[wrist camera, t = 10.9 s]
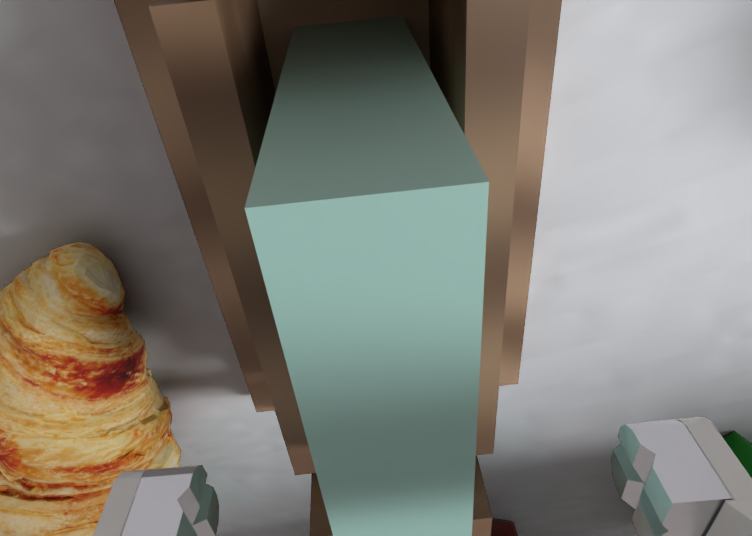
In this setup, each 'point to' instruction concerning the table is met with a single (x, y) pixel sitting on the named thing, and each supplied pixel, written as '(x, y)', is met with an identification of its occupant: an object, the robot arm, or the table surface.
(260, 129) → the wooden shelf
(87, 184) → the table surface
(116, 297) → the croissant
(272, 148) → the door panel
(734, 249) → the table surface
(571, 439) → the table surface
